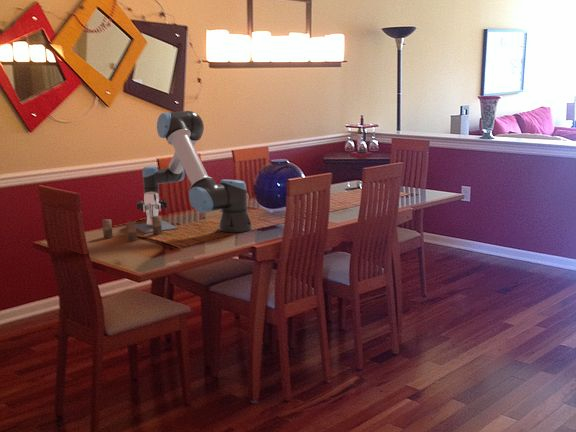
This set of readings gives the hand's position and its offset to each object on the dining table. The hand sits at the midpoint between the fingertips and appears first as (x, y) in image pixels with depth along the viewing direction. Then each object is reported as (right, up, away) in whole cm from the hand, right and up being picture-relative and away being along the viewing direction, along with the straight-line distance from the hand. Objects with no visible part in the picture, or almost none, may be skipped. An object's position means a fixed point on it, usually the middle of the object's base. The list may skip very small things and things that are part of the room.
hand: (152, 208), depth 330 cm
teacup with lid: (+38, +1, +52) cm, 64 cm away
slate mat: (0, -9, +8) cm, 12 cm away
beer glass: (-1, -7, +7) cm, 10 cm away
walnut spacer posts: (-6, -13, -10) cm, 17 cm away
